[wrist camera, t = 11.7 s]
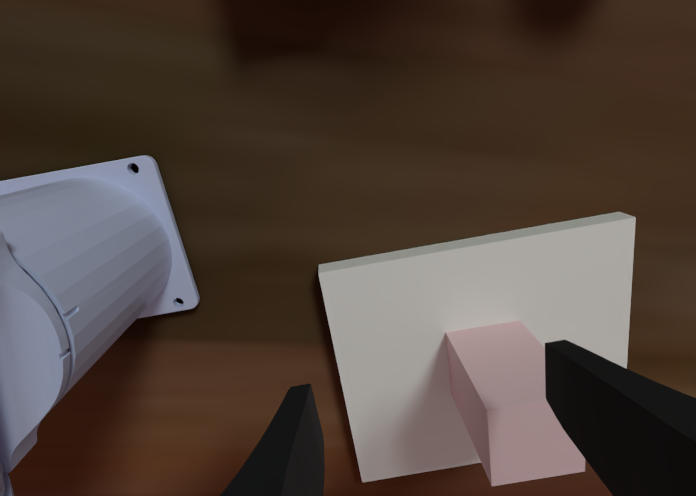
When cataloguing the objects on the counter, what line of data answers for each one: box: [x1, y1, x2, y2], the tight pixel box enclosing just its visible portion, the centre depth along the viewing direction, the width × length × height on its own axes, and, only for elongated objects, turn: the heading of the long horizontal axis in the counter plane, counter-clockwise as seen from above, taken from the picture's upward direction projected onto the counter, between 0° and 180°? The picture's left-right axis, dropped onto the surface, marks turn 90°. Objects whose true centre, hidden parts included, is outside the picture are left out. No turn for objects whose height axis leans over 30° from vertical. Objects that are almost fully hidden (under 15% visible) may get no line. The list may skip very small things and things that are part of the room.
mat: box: [318, 212, 636, 483], centre depth 23 cm, size 16×14×1 cm
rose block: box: [446, 320, 585, 486], centre depth 19 cm, size 4×4×6 cm
